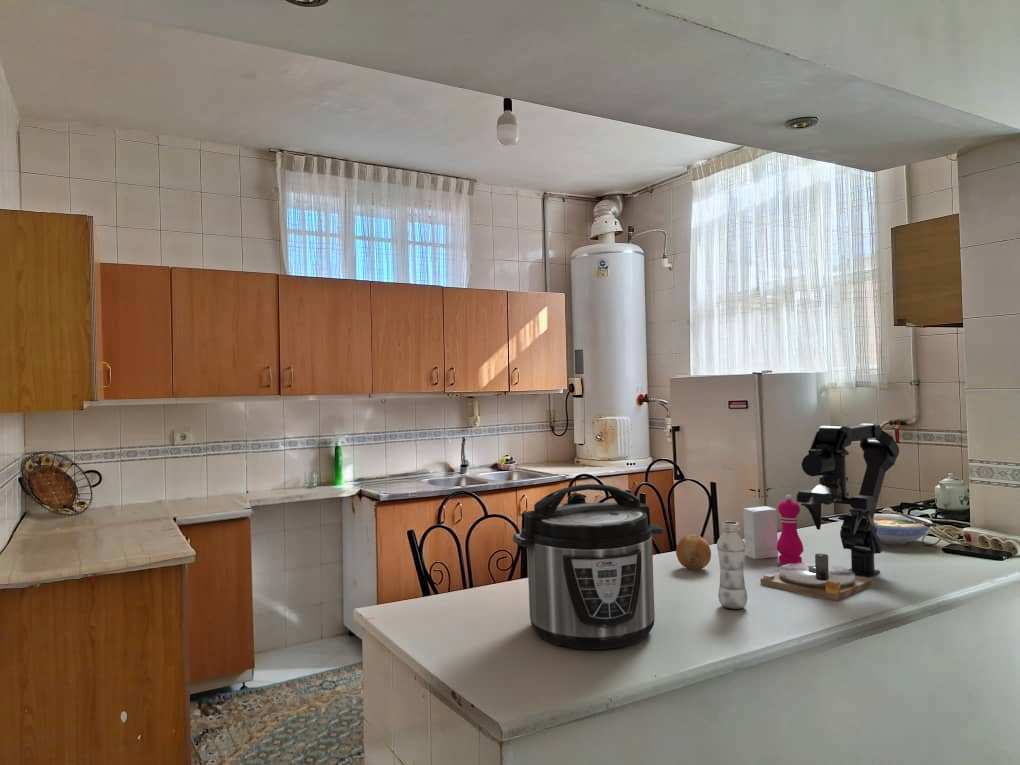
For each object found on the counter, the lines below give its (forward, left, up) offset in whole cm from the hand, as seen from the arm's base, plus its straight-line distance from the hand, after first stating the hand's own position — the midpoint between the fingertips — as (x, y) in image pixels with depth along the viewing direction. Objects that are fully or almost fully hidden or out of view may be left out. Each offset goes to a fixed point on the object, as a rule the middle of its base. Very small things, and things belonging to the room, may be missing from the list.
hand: (835, 531), depth 182 cm
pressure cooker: (+75, -17, -13) cm, 78 cm away
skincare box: (-10, -28, -13) cm, 33 cm away
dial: (+7, -2, -11) cm, 13 cm away
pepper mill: (-9, -18, -13) cm, 24 cm away
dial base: (+7, -2, -13) cm, 15 cm away
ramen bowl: (-57, -9, -13) cm, 59 cm away
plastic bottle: (+39, -6, -13) cm, 42 cm away
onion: (+17, -33, -13) cm, 39 cm away
